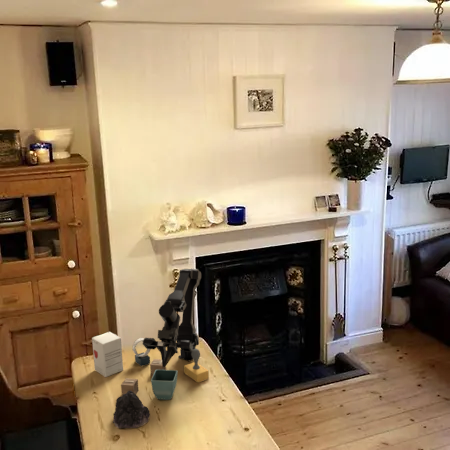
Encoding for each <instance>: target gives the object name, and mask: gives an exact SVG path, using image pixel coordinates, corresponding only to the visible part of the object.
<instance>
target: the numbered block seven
mask: <svg viewBox="0 0 450 450" xmlns="http://www.w3.org/2000/svg"><path fill="white" fill-rule="evenodd" d="M149 366H150V367H149V368H150V370H149V371H150V376H151V377H153V374H154V372H155V370H167V366H166V367H163V365H162V358H160V359H159V358H153V360H152V361H151V362H150V365H149Z"/></svg>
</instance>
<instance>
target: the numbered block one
mask: <svg viewBox="0 0 450 450" xmlns="http://www.w3.org/2000/svg"><path fill="white" fill-rule="evenodd" d="M139 388H140V387H139V379H138V378H129V377H127V378H126V377H125V379H124V380H123V381H122V382H121V384H120V389H121V391H120V393H121V396H122V395H123V394H126V393H127V392H128V391H132V392H134V393H135V394H136V395H137V394H138V392H139Z"/></svg>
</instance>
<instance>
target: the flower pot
mask: <svg viewBox="0 0 450 450" xmlns="http://www.w3.org/2000/svg"><path fill="white" fill-rule="evenodd" d="M178 372H179V371H178V370H176V369H166V370H155V372H154V374H153V376H151V379H150V384H151V389H152V393H153V395H154V397H155V398H156V399H157V400H165V401H166V400H168V401H169V400H171V399H172V398H173V395H174V393H175V390H176V387H177V383H178Z"/></svg>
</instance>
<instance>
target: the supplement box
mask: <svg viewBox="0 0 450 450" xmlns="http://www.w3.org/2000/svg"><path fill="white" fill-rule="evenodd" d="M91 343H92V353H93V364H94V366H93V367H94V371H96V372H97V373H99V375H102V376H103V377H104V378H107V377H110V376H112V375H114V374H117V373H119V372H122V371H124V364H123V360H124V359H123V351H122V350H123V349H122V347H123V346H122V337H120V336H118V335H117V334H116V333H113V332H111V331H107V332H105V333H103V334H100V335H96V336H95V335H94V336H93V337H91Z"/></svg>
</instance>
